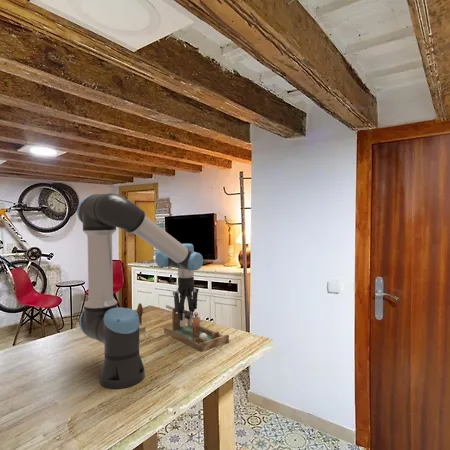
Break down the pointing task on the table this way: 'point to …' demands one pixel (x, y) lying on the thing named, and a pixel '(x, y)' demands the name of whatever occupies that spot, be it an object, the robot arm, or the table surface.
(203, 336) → the ball
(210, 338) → the pitch
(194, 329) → the kicker
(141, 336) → the hand bell
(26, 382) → the table surface
